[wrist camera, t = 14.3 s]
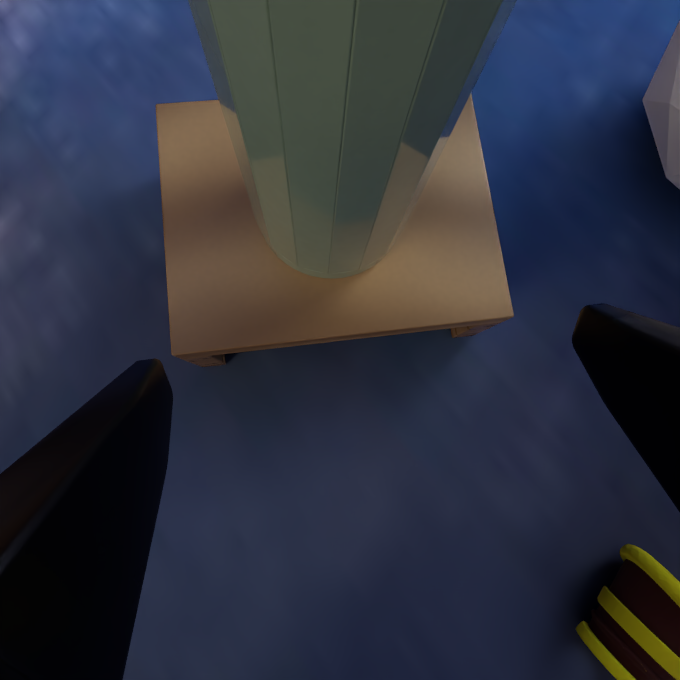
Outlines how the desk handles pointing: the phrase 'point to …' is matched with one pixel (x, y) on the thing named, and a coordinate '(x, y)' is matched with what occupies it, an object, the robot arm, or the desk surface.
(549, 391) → the desk surface
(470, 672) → the desk surface
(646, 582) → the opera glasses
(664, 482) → the robot arm
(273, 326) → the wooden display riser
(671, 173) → the geodesic sphere
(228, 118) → the pen cup
